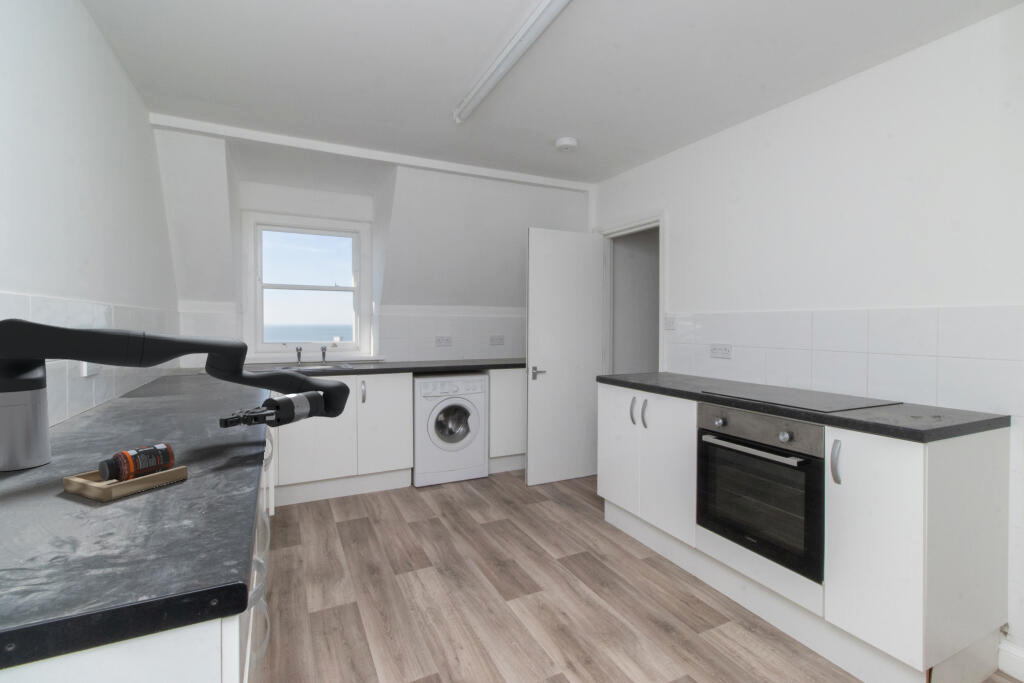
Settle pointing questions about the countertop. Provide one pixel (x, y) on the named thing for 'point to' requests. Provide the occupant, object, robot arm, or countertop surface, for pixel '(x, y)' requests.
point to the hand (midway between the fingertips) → (221, 423)
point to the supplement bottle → (137, 462)
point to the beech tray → (119, 484)
